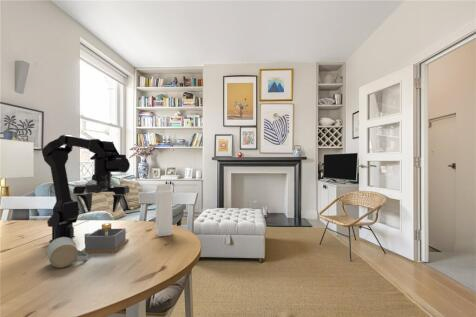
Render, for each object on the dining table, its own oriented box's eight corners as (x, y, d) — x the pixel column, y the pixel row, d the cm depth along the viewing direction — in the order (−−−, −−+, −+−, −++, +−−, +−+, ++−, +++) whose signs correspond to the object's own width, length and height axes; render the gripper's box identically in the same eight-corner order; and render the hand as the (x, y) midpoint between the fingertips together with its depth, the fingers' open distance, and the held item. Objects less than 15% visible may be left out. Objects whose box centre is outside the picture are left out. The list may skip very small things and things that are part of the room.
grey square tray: (76, 253, 85) (76, 237, 85) (93, 242, 97) (93, 228, 97) (116, 252, 86) (116, 236, 87) (128, 241, 98) (128, 227, 99)
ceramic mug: (49, 272, 71) (50, 245, 71) (45, 264, 77) (46, 239, 77) (91, 262, 78) (91, 238, 78) (85, 255, 84) (85, 233, 84)
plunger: (89, 247, 87) (89, 227, 88) (100, 239, 96) (100, 221, 96) (113, 246, 88) (113, 226, 88) (121, 239, 96) (122, 221, 96)
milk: (172, 234, 107) (172, 184, 108) (158, 237, 104) (158, 185, 105) (168, 231, 113) (169, 183, 113) (155, 233, 110) (155, 184, 110)
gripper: (64, 172, 87) (63, 216, 86) (119, 173, 88) (118, 216, 88) (82, 170, 98) (81, 210, 98) (130, 171, 99) (129, 210, 99)
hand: (101, 211), depth 95 cm, fingers open, 9 cm apart
